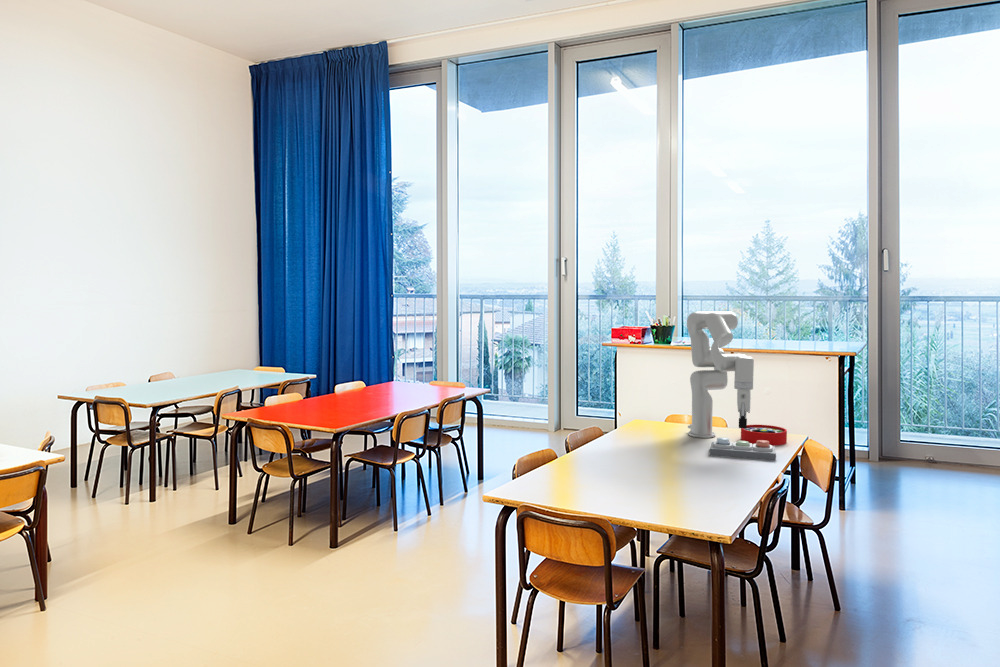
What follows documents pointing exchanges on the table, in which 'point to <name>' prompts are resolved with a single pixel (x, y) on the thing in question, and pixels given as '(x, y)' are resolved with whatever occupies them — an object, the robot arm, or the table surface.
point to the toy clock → (764, 434)
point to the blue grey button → (723, 441)
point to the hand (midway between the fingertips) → (742, 427)
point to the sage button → (742, 443)
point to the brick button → (762, 443)
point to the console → (743, 451)
